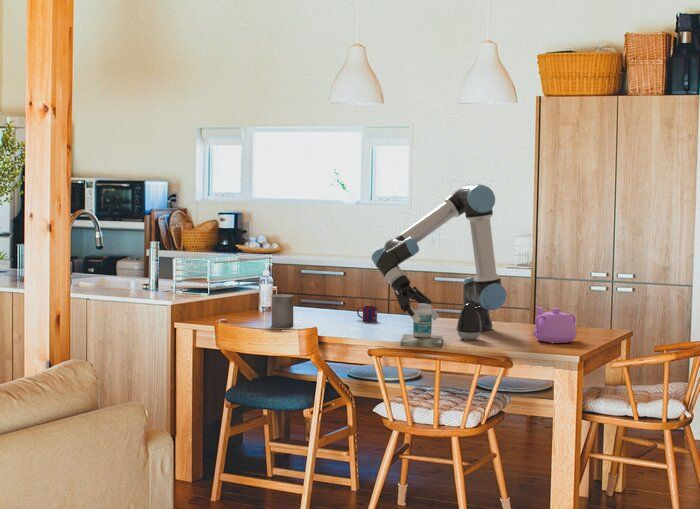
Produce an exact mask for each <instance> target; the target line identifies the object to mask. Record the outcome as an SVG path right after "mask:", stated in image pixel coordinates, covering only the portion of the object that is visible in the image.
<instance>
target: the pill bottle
mask: <svg viewBox="0 0 700 509" xmlns="http://www.w3.org/2000/svg"><path fill="white" fill-rule="evenodd" d="M416 306H417V308H416V309H414V310H415V312H416V313H417V314H418V316H419V317H420V318H421V320H420V321H419V322H418V323H417V324H416V323H415V322H414V321H413V325H412V326H413V327H412V328H413V329H412V331H413V332H412V335H413V336H415V337H419V338H428V337H431V335H432V325H433V322H432V321H433V318H432V311H431V310H429V309H428V308H429V304H425V303H418V302H417V305H416Z"/></svg>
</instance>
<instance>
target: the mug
mask: <svg viewBox="0 0 700 509" xmlns="http://www.w3.org/2000/svg"><path fill="white" fill-rule="evenodd" d="M360 309H362V316H361V315H360V314H359V313H360V312H359V311H360ZM356 314H357V317H358V318H360V319H362V322H364V323H377V322H378V306H375V305H363V306H359V307H358V308H357V310H356Z"/></svg>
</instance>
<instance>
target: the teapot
mask: <svg viewBox="0 0 700 509" xmlns="http://www.w3.org/2000/svg"><path fill="white" fill-rule="evenodd" d="M535 307H536V309H537V310H536V311H537V315H536V317H535V320H534V323H535V324H534V325H535V326H534V329H533V331H532V336H533V337H535V338H536V339H537V341H540V342H545V343H551V342H553V343H556V344H561V343H564V344H565V343H567V344H569V343H572V342H573V341H574V340H575V339H576V337H577V332H578V330H577V328H576V322H577V321H576V320H577V318H576V316H575V315H574V314H572V313H566V312H561V308H558V307H553V308H551V310H552V311H547V312H546V311H545V312H543V308H542V307H541V306H539V305H535ZM568 342H569V343H568ZM553 343H552V344H553Z"/></svg>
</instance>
